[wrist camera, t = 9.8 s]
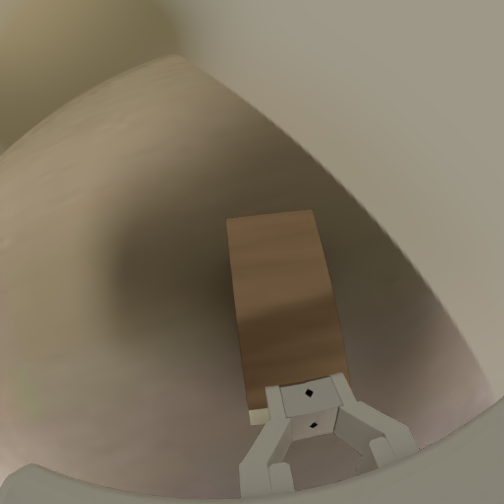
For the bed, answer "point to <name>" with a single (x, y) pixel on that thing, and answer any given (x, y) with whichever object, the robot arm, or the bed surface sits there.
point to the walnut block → (282, 304)
